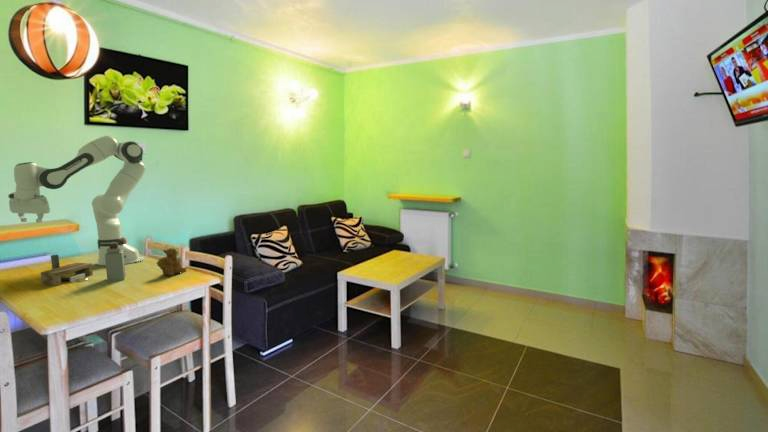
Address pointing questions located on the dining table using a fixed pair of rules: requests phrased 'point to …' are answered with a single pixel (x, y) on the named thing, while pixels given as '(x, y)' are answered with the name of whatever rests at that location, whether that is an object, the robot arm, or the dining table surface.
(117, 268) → the perfume bottle
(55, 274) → the bench
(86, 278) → the token
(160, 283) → the dining table surface
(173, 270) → the stuffed squirrel
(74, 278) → the slab with upright peg
